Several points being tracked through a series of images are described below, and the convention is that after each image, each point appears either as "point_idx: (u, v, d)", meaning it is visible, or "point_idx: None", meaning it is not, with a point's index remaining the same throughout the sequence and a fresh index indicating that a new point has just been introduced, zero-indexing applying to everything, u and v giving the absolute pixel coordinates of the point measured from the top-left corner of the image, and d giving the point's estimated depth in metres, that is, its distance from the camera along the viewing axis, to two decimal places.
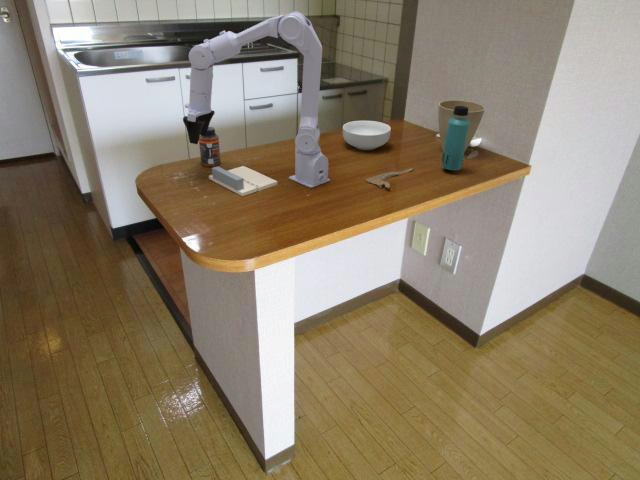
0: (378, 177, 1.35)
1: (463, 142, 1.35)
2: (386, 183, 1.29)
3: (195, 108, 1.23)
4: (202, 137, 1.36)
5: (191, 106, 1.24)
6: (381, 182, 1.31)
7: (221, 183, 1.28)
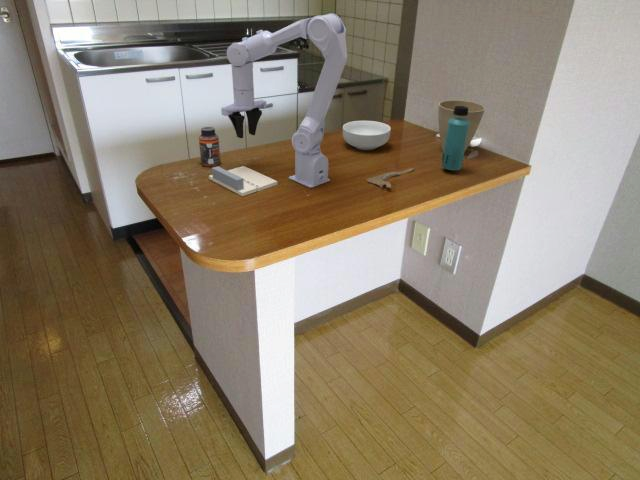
0: (379, 177, 1.34)
1: (463, 142, 1.35)
2: (387, 183, 1.29)
3: (235, 104, 1.28)
4: (202, 137, 1.36)
5: (234, 102, 1.29)
6: (382, 182, 1.31)
7: (221, 183, 1.28)
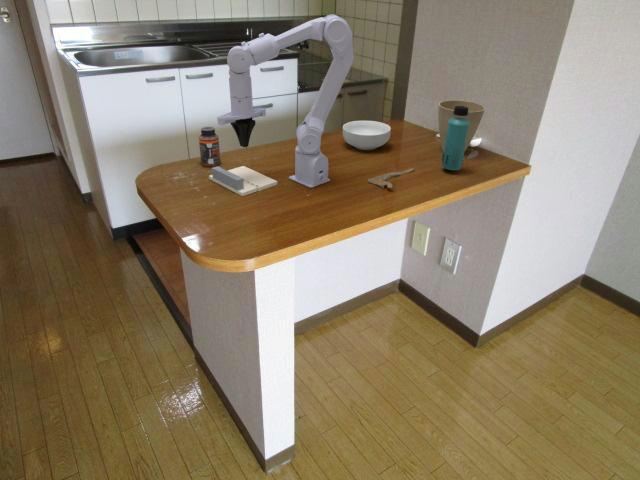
0: (380, 177, 1.34)
1: (463, 142, 1.35)
2: (388, 183, 1.29)
3: (232, 113, 1.20)
4: (202, 137, 1.36)
5: (231, 111, 1.21)
6: (383, 182, 1.31)
7: (221, 183, 1.28)
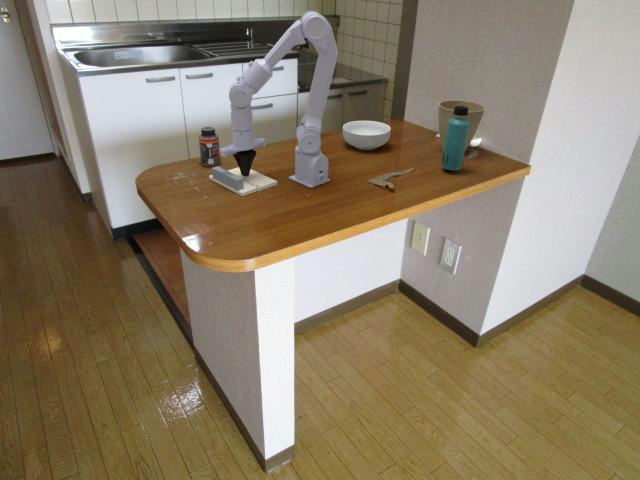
0: (380, 178, 1.34)
1: (463, 142, 1.35)
2: (389, 184, 1.29)
3: (234, 144, 1.25)
4: (202, 137, 1.36)
5: None
6: (384, 183, 1.31)
7: (221, 183, 1.28)
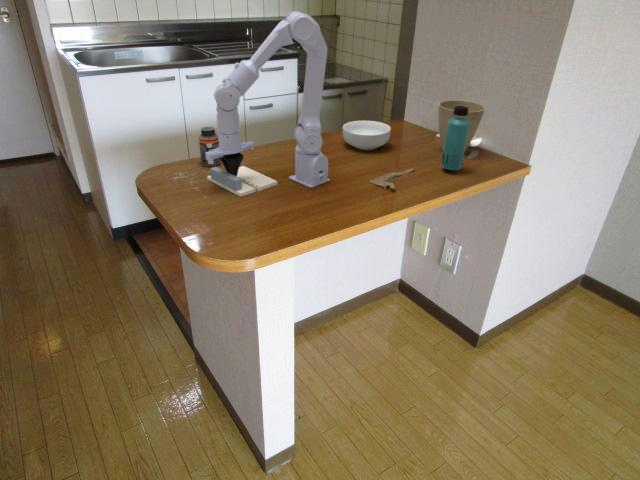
0: (381, 178, 1.34)
1: (463, 142, 1.35)
2: (391, 184, 1.29)
3: (220, 148, 1.22)
4: (202, 137, 1.36)
5: (219, 146, 1.23)
6: (385, 183, 1.30)
7: (219, 184, 1.28)
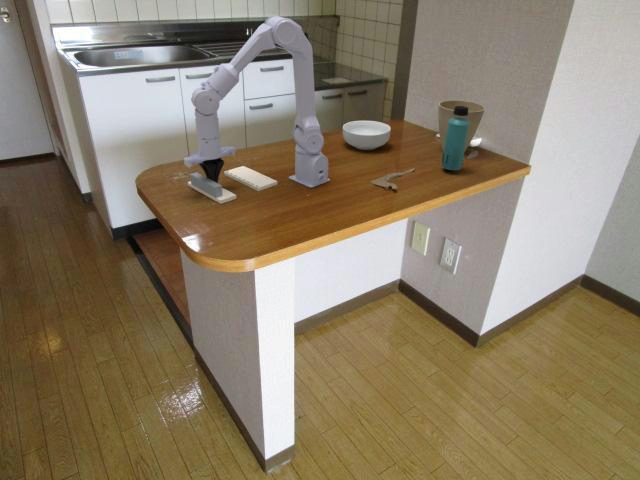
0: (383, 179, 1.34)
1: (463, 142, 1.35)
2: (392, 185, 1.29)
3: (200, 153, 1.18)
4: None
5: None
6: (387, 184, 1.30)
7: (199, 190, 1.24)
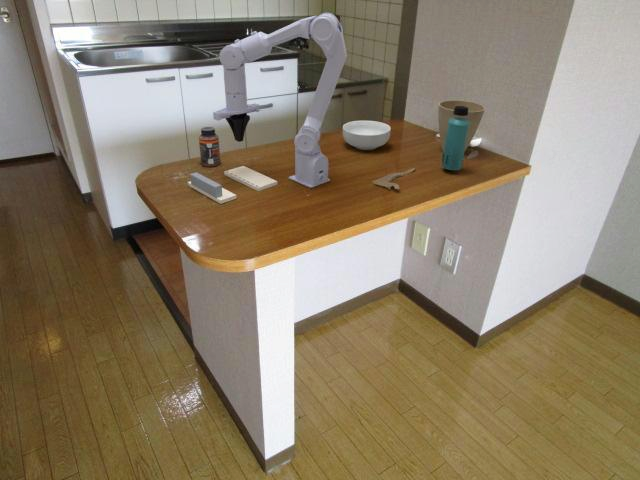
0: (384, 179, 1.33)
1: (463, 142, 1.35)
2: (395, 185, 1.28)
3: (227, 108, 1.24)
4: (202, 137, 1.36)
5: (226, 106, 1.25)
6: (389, 184, 1.30)
7: (199, 190, 1.24)
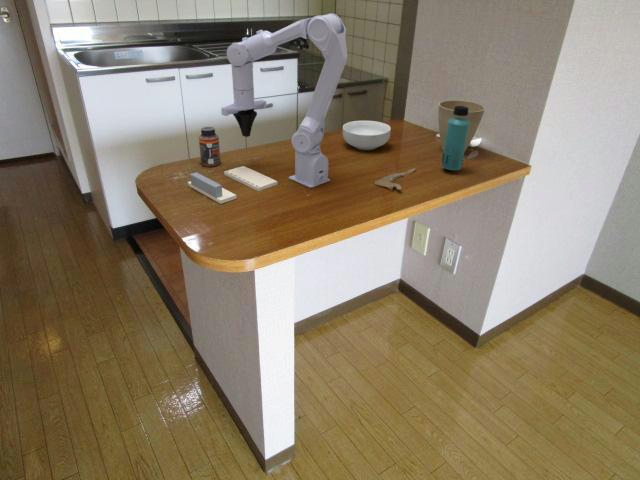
0: (386, 179, 1.33)
1: (463, 142, 1.35)
2: (397, 185, 1.28)
3: (235, 104, 1.28)
4: (202, 137, 1.36)
5: (234, 102, 1.29)
6: (391, 184, 1.30)
7: (199, 190, 1.24)
